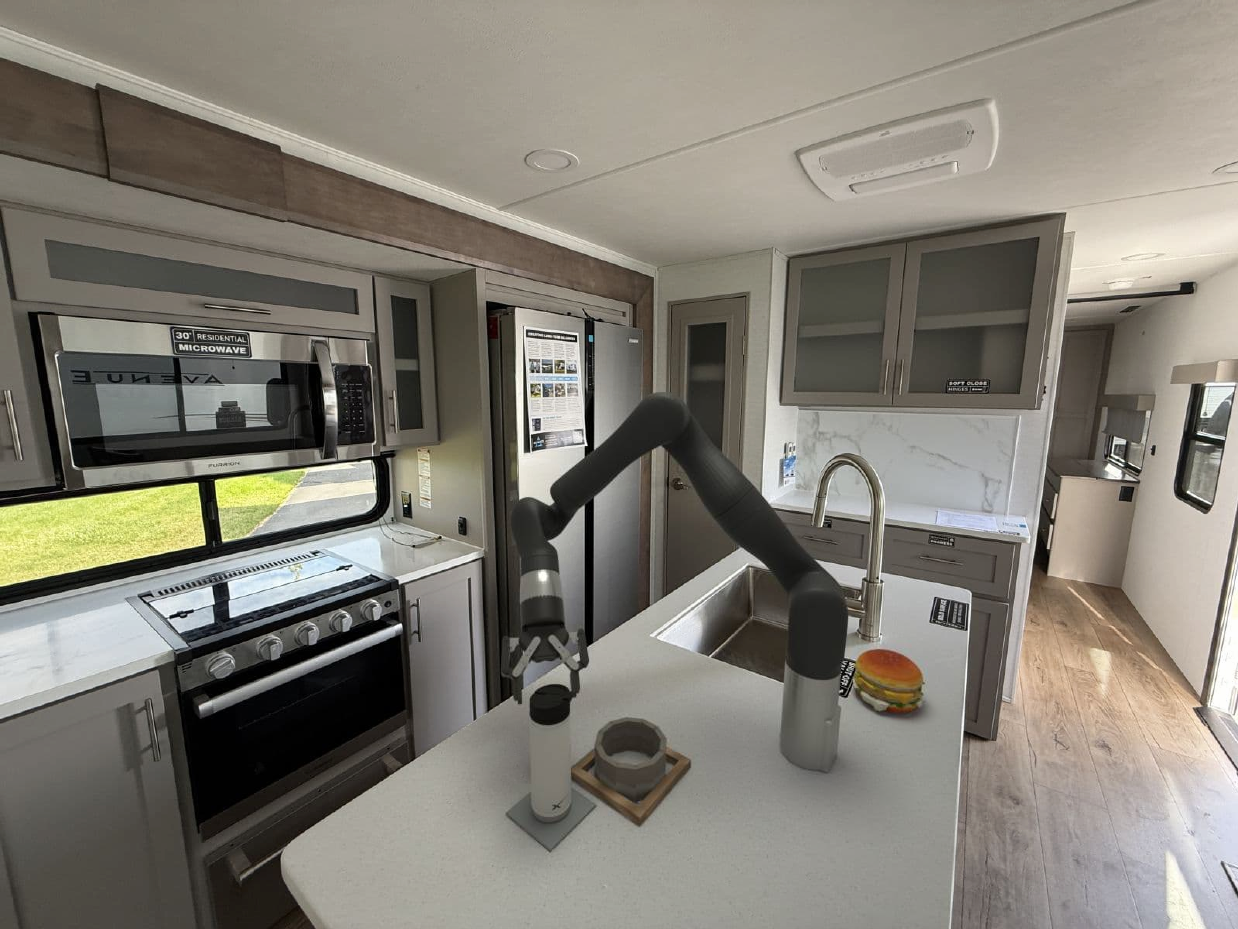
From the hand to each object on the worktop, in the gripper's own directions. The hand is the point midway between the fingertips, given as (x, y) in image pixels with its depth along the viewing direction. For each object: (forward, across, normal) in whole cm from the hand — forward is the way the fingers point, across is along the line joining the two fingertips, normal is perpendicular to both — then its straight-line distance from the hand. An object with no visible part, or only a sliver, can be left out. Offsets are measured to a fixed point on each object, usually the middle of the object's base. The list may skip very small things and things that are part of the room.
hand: (547, 700), depth 80 cm
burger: (+5, +72, +19) cm, 74 cm away
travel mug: (+14, 0, +9) cm, 17 cm away
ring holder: (+11, +14, +13) cm, 22 cm away
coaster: (+14, 0, +9) cm, 17 cm away
